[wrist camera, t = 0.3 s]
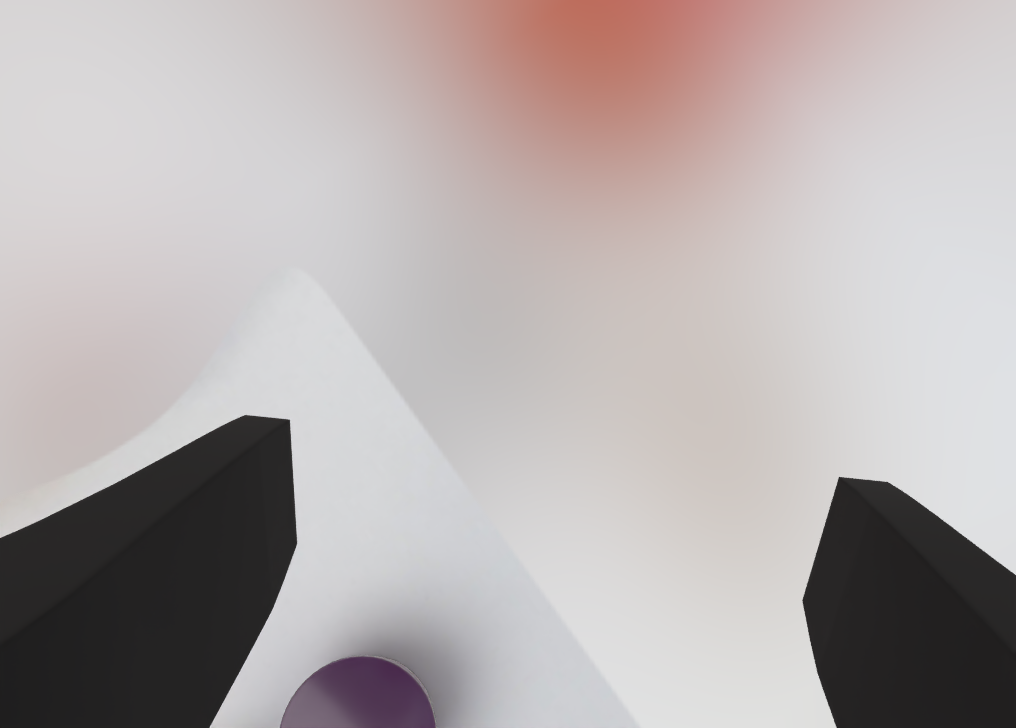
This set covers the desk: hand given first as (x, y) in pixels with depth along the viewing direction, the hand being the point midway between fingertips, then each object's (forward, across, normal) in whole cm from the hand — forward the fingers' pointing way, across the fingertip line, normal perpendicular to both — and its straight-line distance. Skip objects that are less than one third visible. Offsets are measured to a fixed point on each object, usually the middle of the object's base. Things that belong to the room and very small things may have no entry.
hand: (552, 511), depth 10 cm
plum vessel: (+16, +7, +24) cm, 30 cm away
